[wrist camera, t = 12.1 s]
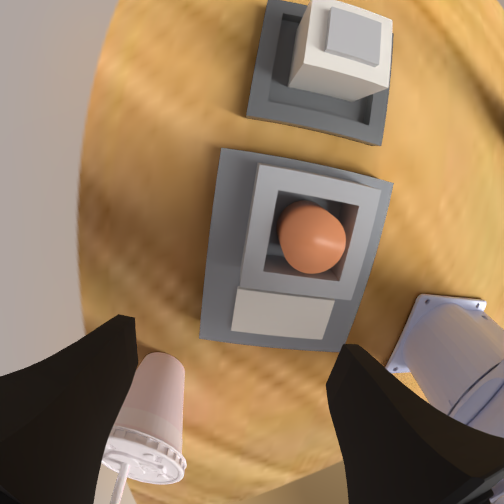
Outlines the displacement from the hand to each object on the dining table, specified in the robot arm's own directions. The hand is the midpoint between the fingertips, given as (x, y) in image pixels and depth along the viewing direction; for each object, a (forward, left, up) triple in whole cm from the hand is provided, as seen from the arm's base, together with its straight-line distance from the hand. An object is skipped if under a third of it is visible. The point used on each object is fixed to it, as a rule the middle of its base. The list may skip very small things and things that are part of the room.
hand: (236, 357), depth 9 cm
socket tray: (-3, -13, -10) cm, 16 cm away
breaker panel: (-3, -1, -10) cm, 10 cm away
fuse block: (-3, -13, -10) cm, 16 cm away
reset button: (-3, -3, -7) cm, 9 cm away
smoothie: (+5, +11, -10) cm, 16 cm away
